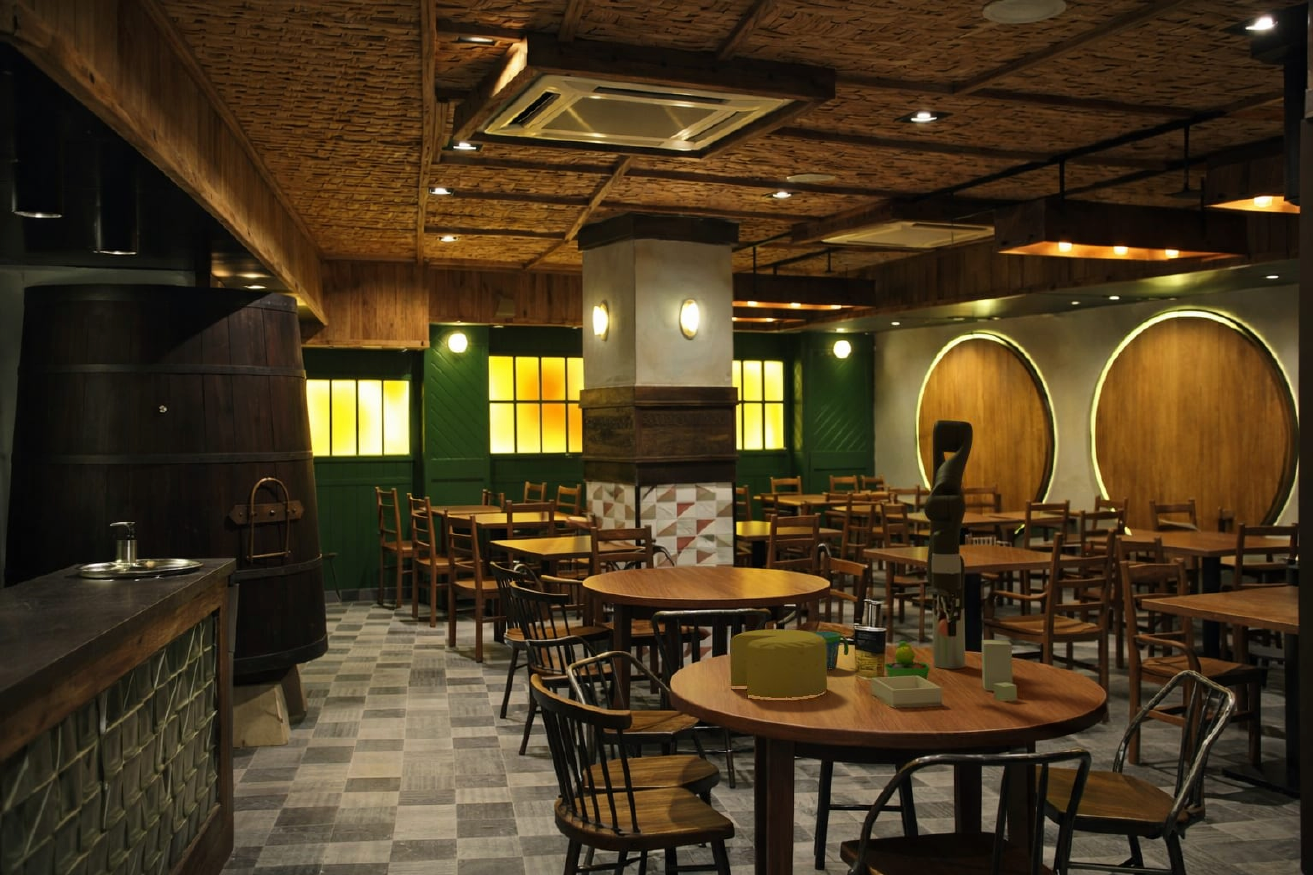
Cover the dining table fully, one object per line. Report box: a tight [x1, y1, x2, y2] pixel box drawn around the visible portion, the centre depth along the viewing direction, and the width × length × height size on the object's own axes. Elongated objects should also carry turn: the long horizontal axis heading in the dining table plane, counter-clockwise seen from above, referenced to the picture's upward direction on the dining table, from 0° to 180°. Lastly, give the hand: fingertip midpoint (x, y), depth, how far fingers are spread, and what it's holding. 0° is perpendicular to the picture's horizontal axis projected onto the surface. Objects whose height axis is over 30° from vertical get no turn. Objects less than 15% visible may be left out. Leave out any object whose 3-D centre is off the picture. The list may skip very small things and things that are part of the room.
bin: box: [870, 676, 943, 708], centre depth 294 cm, size 16×13×4 cm
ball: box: [938, 618, 957, 637], centre depth 301 cm, size 5×5×5 cm
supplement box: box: [981, 639, 1013, 692], centre depth 306 cm, size 7×7×13 cm
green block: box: [993, 682, 1018, 702], centre depth 293 cm, size 4×4×4 cm
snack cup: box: [811, 631, 849, 670], centre depth 338 cm, size 16×10×10 cm
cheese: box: [729, 628, 828, 698], centre depth 308 cm, size 26×26×15 cm
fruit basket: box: [884, 640, 931, 681], centre depth 315 cm, size 11×9×11 cm
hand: (947, 634), depth 301 cm, fingers closed on ball, 5 cm apart
